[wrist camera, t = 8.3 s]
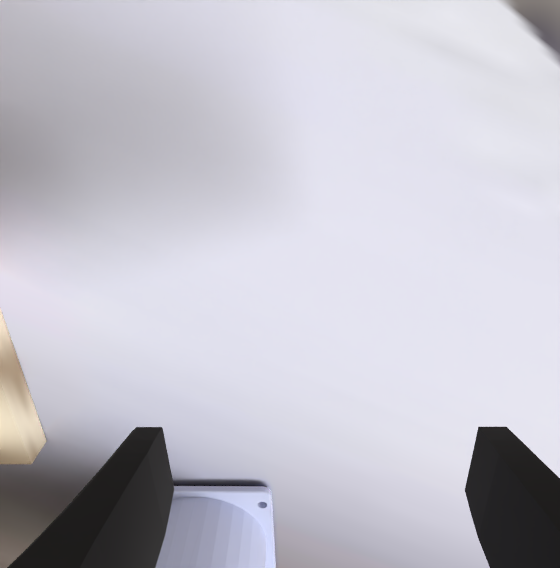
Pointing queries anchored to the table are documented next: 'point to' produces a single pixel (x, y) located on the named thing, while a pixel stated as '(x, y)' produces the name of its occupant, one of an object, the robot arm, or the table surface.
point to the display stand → (16, 408)
